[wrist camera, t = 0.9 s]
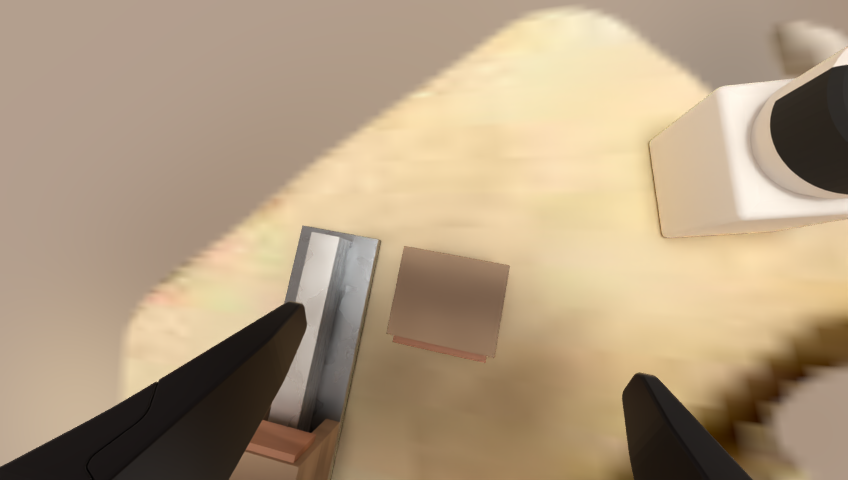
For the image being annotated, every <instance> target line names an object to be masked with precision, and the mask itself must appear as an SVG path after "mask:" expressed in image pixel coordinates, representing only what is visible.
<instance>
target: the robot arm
mask: <svg viewBox="0 0 848 480" xmlns="http://www.w3.org/2000/svg"><path fill="white" fill-rule="evenodd" d="M306 328H307V319H306V313H305V307H304V305H303V304H302V303H298V302H293V301H289V302H286V303H285V304H283V305H281V306H280V307H278V308H276V309H275V310H273V311H271V312H270V313H268V314H267V315H265V316H263V317H262V318H260V319H258V320H257V321H255V322H253V323H252V324H250V325H248V326H247V327H245V328H243V329H242V330H240V331H239V332H237V333H235V334H234V335H232V336H230V337H229V338H227V339H225V340H224V341H222V342H220V343H219V344H217V345H216V346H214V347H212V348H211V349H209V350H207V351H206V352H204V353H202V354H201V355H199V356H197V357H196V358H194V359H193V360H191V361H189V362H188V363H186V364H184V365H183V366H181V367H179V368H178V369H176V370H174V371H173V372H171V373H170V374H168V375H166V376H165V377H163V378H161V379H160V380H159V381H158V382H155V383H153V384H151V385H150V386H148V387H146V388H145V389H143V390H141V391H140V392H138V393H136V394H135V395H133V396H131V397H129V398H128V399H126V400H124V401H123V402H121V403H119V404H118V405H116V406H114V407H112V408H111V409H109V410H107V411H105V412H103V413H101V414H100V415H98V416H96V417H94V418H92V419H91V420H89V421H87V422H85V423H83V424H81V425H79V426H77V427H75V428H74V429H72V430H70V431H68V432H66V433H64V434H62V435H60V436H59V437H57V438H55V439H53V440H51V441H49V442H47V443H45V444H43V445H42V446H39V447H38V448H36V449H34V450H32V451H30V452H28V453H26V454H24V455H22V456H20V457H19V458H17V459H15V460H13V461H11V462H9V463H7V464H5V465H3V466H1V467H0V480H229V479H230V477H231V475H232V473H233V472H234V470H235V468H236V466H237V464H238V463H239V461H240V459H241V457H242V455H243V454H244V452H245V450H246V448H247V447H248V445H249V443H250V441H251V439H252V438H253V436H254V434H255V432H256V431H257V429H258V427H259V425H260V423H261V422H262V420H263V418H264V416H265V414H266V413H267V411H268V409H269V407H270V406H271V404H272V402H273V400H274V398H275V397H276V395H277V393H278V391H279V390H280V388H281V386H282V384H283V382H284V380H285V378H286V376H287V374H288V371H289V369H290V367H291V364H292V362H293V360H294V357H295V355H296V353H297V350H298V348H299V346H300V343H301V341H302V339H303V336H304V334H305V332H306ZM622 401H623V409H624V417H625V425H626V433H627V441H628V450H629V456H630V462H631V467H632V472H633V476H634V480H753V479H752V478H751V477H750V476H749V475H748V474H747V473H746V472H745V471H744V470H743V469H742V468H741V467H740V465H739V464H738V463H737V462H736V461H735V460H734V459H733V458H732V457H731V456H730V455H729V454H728V453H727V452H726V450H725V449H724V448H723V447H722V446H721V445H720V444H719V443H718V442H717V441H716V440H715V439H714V438H713V437H712V436H711V434H710V433H709V432H708V431H707V430H706V429H705V428H704V427H703V426H702V425H701V424H700V423H699V422H698V421H697V419H696V418H695V417H694V416H693V415H692V414H691V413H690V412H689V411H688V410H687V409H686V408H685V407H684V406H683V405H682V403H681V402H680V401H679V400H678V399H677V398H676V397H675V396H674V395H673V394H672V393H671V392H670V391H669V390H668V388H667V387H666V386H665V385H664V384H663V383H662V382H661V381H660V380H659V379H658V378H657V377H655V376H653V375H650V374H645V373H636V374H635V375H634V376H633V378H632V379H631V380H630V382H629V383H628V385H627V386H626V388H625V389H624V391H623V395H622Z"/></svg>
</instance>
